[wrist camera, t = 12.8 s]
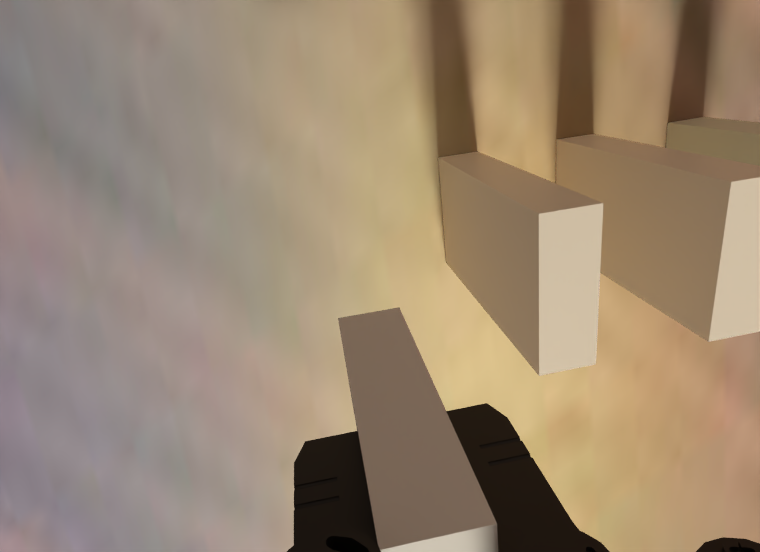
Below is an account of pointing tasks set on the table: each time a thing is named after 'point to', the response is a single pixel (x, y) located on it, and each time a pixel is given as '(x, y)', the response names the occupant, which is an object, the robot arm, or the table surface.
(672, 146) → the domino
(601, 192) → the domino
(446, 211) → the domino
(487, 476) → the robot arm
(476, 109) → the table surface
